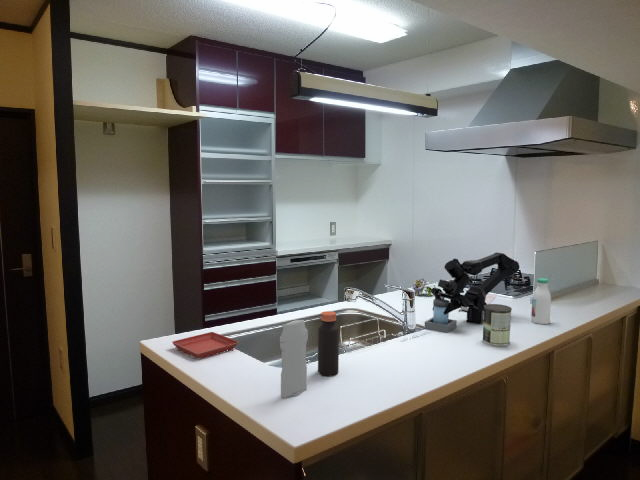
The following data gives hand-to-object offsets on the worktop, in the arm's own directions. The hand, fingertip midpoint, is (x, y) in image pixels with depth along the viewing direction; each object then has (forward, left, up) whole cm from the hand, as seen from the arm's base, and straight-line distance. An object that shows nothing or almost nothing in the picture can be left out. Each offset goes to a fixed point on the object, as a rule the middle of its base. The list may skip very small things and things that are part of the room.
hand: (438, 312), depth 208 cm
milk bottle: (-34, -37, -7) cm, 51 cm away
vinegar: (+9, +70, -7) cm, 71 cm away
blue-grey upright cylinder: (-1, -1, -7) cm, 7 cm away
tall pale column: (+8, +89, -7) cm, 89 cm away
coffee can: (-26, +4, -7) cm, 27 cm away
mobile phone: (-3, -45, -8) cm, 45 cm away
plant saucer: (+59, +78, -8) cm, 99 cm away
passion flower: (+32, -57, -7) cm, 66 cm away
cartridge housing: (-1, -1, -7) cm, 7 cm away
